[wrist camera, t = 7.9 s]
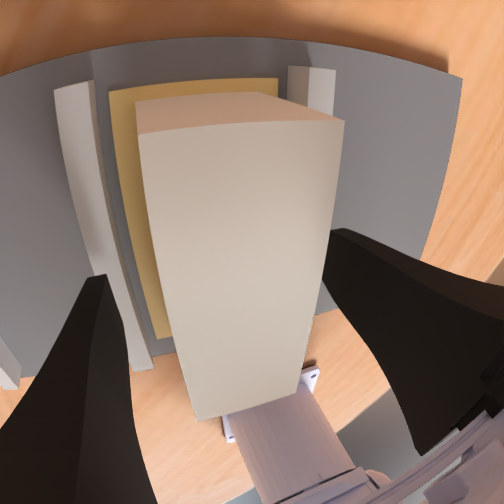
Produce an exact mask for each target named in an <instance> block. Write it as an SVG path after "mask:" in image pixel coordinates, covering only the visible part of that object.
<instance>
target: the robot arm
mask: <svg viewBox="0 0 504 504" xmlns="http://www.w3.org/2000/svg"><path fill="white" fill-rule="evenodd" d="M322 281H323V283H324V285H325V286H326V288H327V290H328V292H329V294H330V295H331V297H332V299H333V300H334V302H335V303H336V305H337V306H338V307H339V309H340V310H341V311H342V313H343V314H344V315H345V317H346V318H347V319H348V321H349V322H350V323H351V325H352V326H353V327H354V329H355V330H356V331H357V333H358V334H359V335H360V337H361V338H362V339H363V341H364V342H365V343H366V345H367V346H368V347H369V349H370V350H371V352H372V353H373V355H374V356H375V358H376V360H377V362H378V363H379V365H380V367H381V369H382V370H383V372H384V374H385V376H386V378H387V380H388V382H389V384H390V386H391V388H392V390H393V392H394V394H395V396H396V398H397V400H398V403H399V405H400V407H401V409H402V412H403V414H404V416H405V419H406V422H407V425H408V427H409V430H410V433H411V436H412V439H413V443H414V446H415V449H416V450H417V451H418V453H419V454H420V456H423V455H424V454H426V453H427V452H429V451H430V450H431V449H433V448H434V447H435V446H437V445H438V444H439V443H441V442H442V441H443V440H444V439H446V438H447V437H448V436H450V435H451V434H452V433H453V432H454V431H455V430H457V429H459V431H460V432H459V433H458V434H457V435H456V436H454V437H453V438H452V439H451V440H449V441H448V442H447V443H446V444H444V445H443V446H442V447H441V448H439V449H438V450H437V451H435V452H434V453H433V454H431V455H430V456H429V457H427V458H426V459H424V460H423V461H422V462H420V463H419V464H417V465H416V466H414V467H413V468H412V469H410V470H408V471H407V472H405V473H404V474H403V475H401V476H399V477H398V478H396V479H395V480H393V481H391V480H390V479H389V478H388V477H387V476H385V475H384V474H383V473H381V472H376V471H374V470H367V471H366V472H364V470H363V468H362V467H359V468H357V469H356V467H355V466H354V464H353V462H352V461H351V459H350V457H349V456H348V454H347V453H346V451H345V449H344V447H343V446H342V444H341V442H340V441H339V439H338V437H337V435H336V434H335V432H334V430H333V429H332V427H331V425H330V423H329V422H328V420H327V418H326V417H325V415H324V413H323V411H322V410H321V408H320V406H319V405H318V403H317V401H316V399H315V398H314V396H313V394H312V393H313V390H314V387H315V384H316V381H317V378H318V375H319V372H320V368H319V367H318V366H317V365H315V366H311V367H309V368H306V369H303V370H301V374H300V378H299V382H298V386H297V390H296V393H294V394H291V395H288V396H285V397H282V398H279V399H276V400H273V401H270V402H267V403H264V404H261V405H258V406H254V407H251V408H248V409H245V410H241V411H238V412H234V413H231V414H227V415H223V416H222V421H223V427H224V434H225V439H226V442H227V443H232V442H235V441H236V442H237V445H238V447H239V449H240V452H241V454H242V457H243V459H244V462H245V464H246V466H247V469H248V471H249V473H250V476H251V478H252V480H253V483H254V485H255V487H256V489H257V492H258V494H259V496H260V498H261V500H262V503H263V504H406V502H405V500H404V498H405V497H407V496H408V495H410V494H411V493H413V492H414V491H416V490H417V489H419V488H420V487H421V486H423V485H424V484H425V483H427V482H428V481H430V480H431V479H432V478H433V477H435V476H436V475H437V474H439V473H440V472H441V471H442V470H444V469H445V468H446V467H447V466H449V465H450V464H451V463H452V462H453V461H455V460H456V459H457V458H458V457H459V456H461V455H462V456H461V457H462V460H461V462H460V463H459V464H458V465H456V466H455V467H453V468H452V469H450V470H449V471H448V472H446V473H445V474H443V475H442V476H441V477H439V478H438V479H437V480H435V481H434V482H433V483H432V484H431V485H430V486H429V487H428V488H426V489H425V490H424V492H423V494H424V495H425V497H426V498H427V499H426V500H424V501H423V502H421V503H420V504H504V287H503V286H499V285H494V284H489V283H485V282H481V281H477V280H474V279H470V278H466V277H463V276H460V275H457V274H454V273H451V272H448V271H445V270H443V269H440V268H437V267H434V266H432V265H429V264H427V263H425V262H422V261H420V260H418V259H415V258H413V257H411V256H408V255H406V254H404V253H402V252H400V251H397V250H395V249H393V248H391V247H389V246H387V245H385V244H382V243H380V242H378V241H376V240H374V239H371V238H369V237H367V236H365V235H362V234H360V233H358V232H355V231H352V230H350V229H347V228H339V229H333V230H330V234H329V240H328V246H327V252H326V257H325V263H324V268H323V274H322ZM0 504H158V503H157V500H156V498H155V495H154V492H153V489H152V486H151V483H150V480H149V477H148V474H147V471H146V467H145V464H144V461H143V457H142V454H141V450H140V446H139V442H138V438H137V434H136V429H135V424H134V418H133V410H132V400H131V388H130V375H129V361H128V349H127V343H126V337H125V330H124V324H123V320H122V318H121V315H120V312H119V309H118V307H117V304H116V301H115V298H114V295H113V292H112V289H111V286H110V283H109V280H108V277H107V274H102V275H97V276H92V277H87V279H86V281H85V282H84V284H83V286H82V288H81V290H80V292H79V295H78V297H77V299H76V301H75V303H74V305H73V307H72V309H71V311H70V313H69V315H68V317H67V319H66V321H65V323H64V325H63V327H62V329H61V331H60V333H59V335H58V337H57V339H56V341H55V343H54V345H53V347H52V348H51V350H50V352H49V354H48V356H47V358H46V360H45V362H44V363H43V365H42V367H41V369H40V370H39V372H38V374H37V376H36V377H35V379H34V380H33V382H32V384H31V385H30V387H29V389H28V390H27V392H26V393H25V395H24V396H23V397H22V399H21V400H20V402H19V403H18V405H17V406H16V408H15V409H14V411H13V412H12V414H11V415H10V417H9V418H8V419H7V421H6V422H5V423H4V425H3V426H2V427H1V429H0Z"/></svg>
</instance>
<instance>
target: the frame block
mask: <svg viewBox="0 0 504 504" xmlns="http://www.w3.org/2000/svg"><path fill="white" fill-rule="evenodd" d="M135 108H136V121H137V133H138V143H139V152H140V161H141V169H142V176H143V184H144V191H145V198H146V205H147V211H148V217H149V224H150V230H151V235H152V241H153V247H154V252H155V257H156V263H157V268H158V273H159V278H160V282H161V287H162V292H163V296H164V301H165V305H166V310H167V314H168V319H169V323H170V327H171V331H172V335H173V339H174V343H175V347H176V351H177V355H178V358H179V362H180V366H181V370H182V373H183V377H184V380H185V384H186V387H187V391H188V394H189V398H190V401H191V404H192V407H193V411H194V414H195V417H196V420H197V422H200V421H204V420H208V419H212V418H216V417H219V416H223V415H227V414H231V413H234V412H238V411H241V410H245V409H248V408H251V407H254V406H258V405H261V404H264V403H267V402H270V401H273V400H276V399H279V398H282V397H285V396H288V395H291V394H294V393H296V390H297V386H298V382H299V378H300V374H301V370H302V366H303V362H304V358H305V354H306V349H307V345H308V341H309V336H310V332H311V327H312V323H313V318H314V313H315V309H316V304H317V299H318V294H319V289H320V284H321V279H322V274H323V268H324V263H325V257H326V252H327V246H328V240H329V234H330V228H331V222H332V216H333V210H334V203H335V196H336V189H337V182H338V175H339V167H340V160H341V152H342V143H343V134H344V125H345V121H344V120H341V119H339V118H336V117H333V116H331V115H328V114H325V113H323V112H320V111H317V110H314V109H311V108H308V107H305V106H302V105H299V104H296V103H293V102H290V101H287V100H284V99H280V98H277V97H274V96H270V95H267V94H264V93H260V92H227V93H210V94H197V95H186V96H176V97H167V98H159V99H151V100H144V101H137V102H135Z"/></svg>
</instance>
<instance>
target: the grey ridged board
mask: <svg viewBox="0 0 504 504" xmlns="http://www.w3.org/2000/svg"><path fill="white" fill-rule="evenodd" d="M462 80H463V79H462V78H460V77H457V76H454V75H451V74H448V73H446V72H443V71H440V70H437V69H434V68H430V67H427V66H424V65H421V64H417V63H414V62H410V61H407V60H403V59H399V58H396V57H392V56H387V55H383V54H379V53H375V52H370V51H365V50H360V49H355V48H350V47H344V46H338V45H332V44H325V43H318V42H310V41H301V40H291V39H280V38H264V37H233V36H220V37H189V38H174V39H162V40H153V41H144V42H136V43H129V44H122V45H116V46H110V47H105V48H100V49H95V50H90V51H85V52H81V53H76V54H72V55H68V56H64V57H60V58H56V59H53V60H49V61H46V62H42V63H39V64H36V65H33V66H29V67H26V68H23V69H20V70H17V71H15V72H12V73H9V74H6V75H4V76H1V77H0V386H1V387H2V388H3V389H4V390H11V389H19V382H20V378H23V377H32V376H37V374H38V372H39V370H40V369H41V367H42V365H43V363H44V362H45V360H46V358H47V356H48V354H49V352H50V350H51V348H52V347H53V345H54V343H55V341H56V339H57V337H58V335H59V333H60V331H61V329H62V327H63V325H64V323H65V321H66V319H67V317H68V315H69V313H70V311H71V309H72V307H73V305H74V303H75V301H76V299H77V297H78V295H79V292H80V290H81V288H82V286H83V284H84V282H85V281H86V279H87V277H92V276H97V275H102V274H107V277H108V280H109V283H110V286H111V289H112V292H113V295H114V298H115V301H116V304H117V307H118V309H119V312H120V315H121V318H122V320H123V324H124V330H125V337H126V343H127V349H128V361H129V363H130V365H131V367H132V369H133V372H139V371H144V370H149V369H154V365H153V359H152V357H154V356H159V355H164V354H169V353H173V352H177V351H176V347H175V343H174V339H173V335H172V331H171V327H170V323H169V319H168V314H167V310H166V305H165V301H164V296H163V292H162V287H161V282H160V278H159V273H158V268H157V263H156V257H155V252H154V247H153V241H152V235H151V230H150V224H149V217H148V211H147V205H146V198H145V191H144V184H143V176H142V169H141V161H140V152H139V143H138V133H137V121H136V108H135V102H137V101H144V100H151V99H159V98H167V97H176V96H186V95H197V94H210V93H227V92H260V93H264V94H267V95H270V96H274V97H277V98H280V99H284V100H287V101H290V102H293V103H296V104H299V105H302V106H305V107H308V108H311V109H314V110H317V111H320V112H323V113H325V114H328V115H331V116H333V117H336V118H339V119H341V120H344V121H345V125H344V134H343V143H342V152H341V160H340V167H339V175H338V182H337V189H336V196H335V203H334V210H333V216H332V222H331V228H330V230H333V229H339V228H347V229H350V230H352V231H355V232H358V233H360V234H362V235H365V236H367V237H369V238H371V239H374V240H376V241H378V242H380V243H382V244H385V245H387V246H389V247H391V248H393V249H395V250H397V251H400V252H402V253H404V254H406V255H408V256H411V257H413V258H415V259H418V260H420V258H421V255H422V252H423V249H424V246H425V243H426V240H427V237H428V234H429V231H430V228H431V225H432V222H433V218H434V215H435V212H436V208H437V205H438V201H439V198H440V194H441V190H442V186H443V183H444V179H445V175H446V170H447V166H448V162H449V157H450V153H451V148H452V143H453V138H454V133H455V127H456V122H457V116H458V110H459V103H460V96H461V88H462ZM336 308H339V307H338V306H337V305H336V303H335V302H334V300H333V299H332V297H331V295H330V294H329V292H328V290H327V288H326V286H325V285H324V283H323V281H322V279H321V284H320V289H319V294H318V299H317V304H316V309H315V313H314V315H317V314H321V313H324V312H327V311H330V310H333V309H336Z"/></svg>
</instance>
